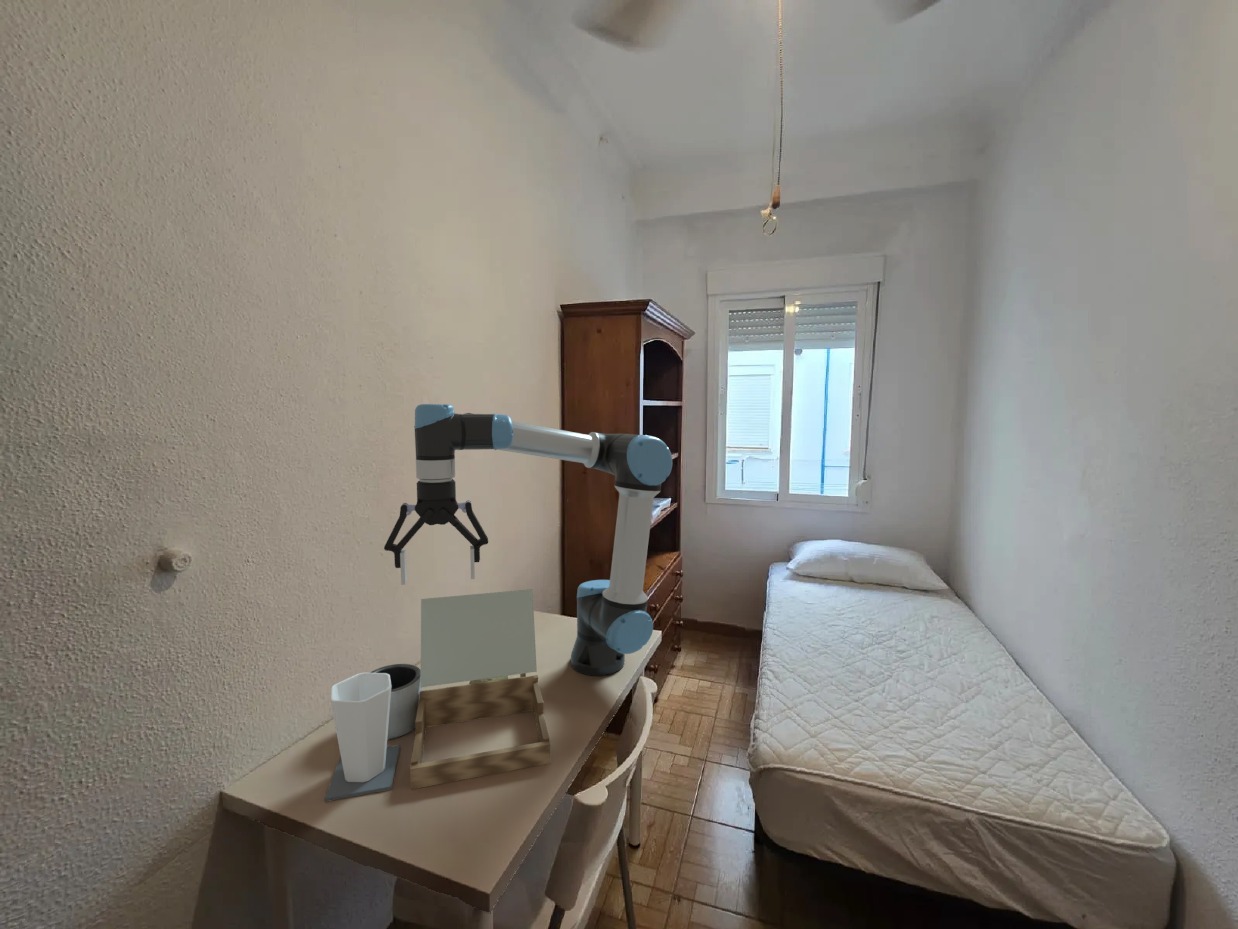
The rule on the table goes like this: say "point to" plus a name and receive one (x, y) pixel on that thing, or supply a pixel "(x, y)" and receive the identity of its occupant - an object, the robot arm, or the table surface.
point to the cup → (362, 723)
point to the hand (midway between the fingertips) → (439, 580)
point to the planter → (402, 697)
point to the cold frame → (471, 706)
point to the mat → (349, 789)
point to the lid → (477, 637)
